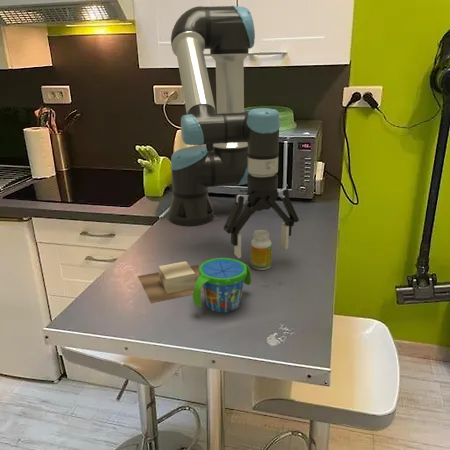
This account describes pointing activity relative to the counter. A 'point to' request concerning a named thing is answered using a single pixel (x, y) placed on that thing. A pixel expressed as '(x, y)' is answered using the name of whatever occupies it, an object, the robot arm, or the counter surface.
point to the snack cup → (221, 283)
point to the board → (157, 290)
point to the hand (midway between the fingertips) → (261, 251)
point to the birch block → (177, 277)
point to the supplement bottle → (261, 250)
